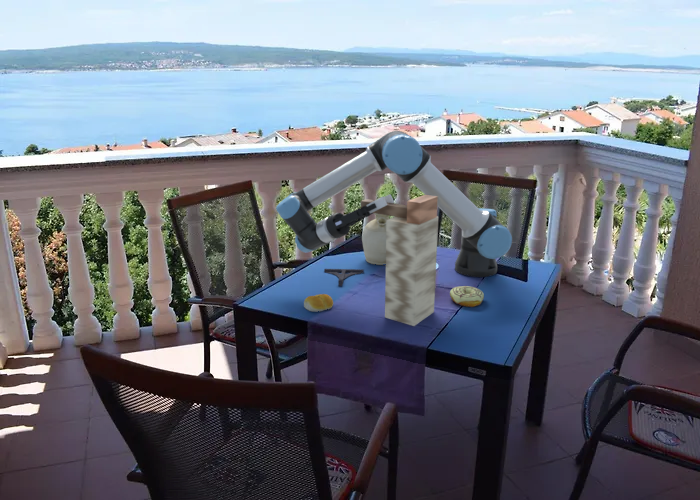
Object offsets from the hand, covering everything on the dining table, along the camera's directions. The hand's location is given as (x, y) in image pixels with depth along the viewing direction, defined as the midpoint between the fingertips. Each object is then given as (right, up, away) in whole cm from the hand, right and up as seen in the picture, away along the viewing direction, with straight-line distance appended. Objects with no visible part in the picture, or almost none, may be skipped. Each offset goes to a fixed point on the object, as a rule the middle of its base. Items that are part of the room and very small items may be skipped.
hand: (388, 199), depth 160 cm
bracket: (-14, -25, +36) cm, 46 cm away
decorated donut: (+26, -31, +16) cm, 44 cm away
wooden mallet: (+2, -4, 0) cm, 5 cm away
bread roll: (-21, -33, +12) cm, 41 cm away
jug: (+1, -19, +54) cm, 57 cm away
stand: (+7, -34, +6) cm, 35 cm away
